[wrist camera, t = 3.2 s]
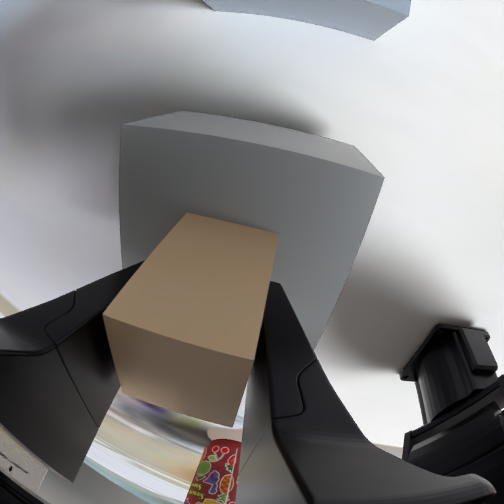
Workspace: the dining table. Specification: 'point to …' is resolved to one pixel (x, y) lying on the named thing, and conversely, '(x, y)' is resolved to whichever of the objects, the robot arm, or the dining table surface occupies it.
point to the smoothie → (216, 474)
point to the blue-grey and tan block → (327, 13)
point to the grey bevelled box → (226, 249)
